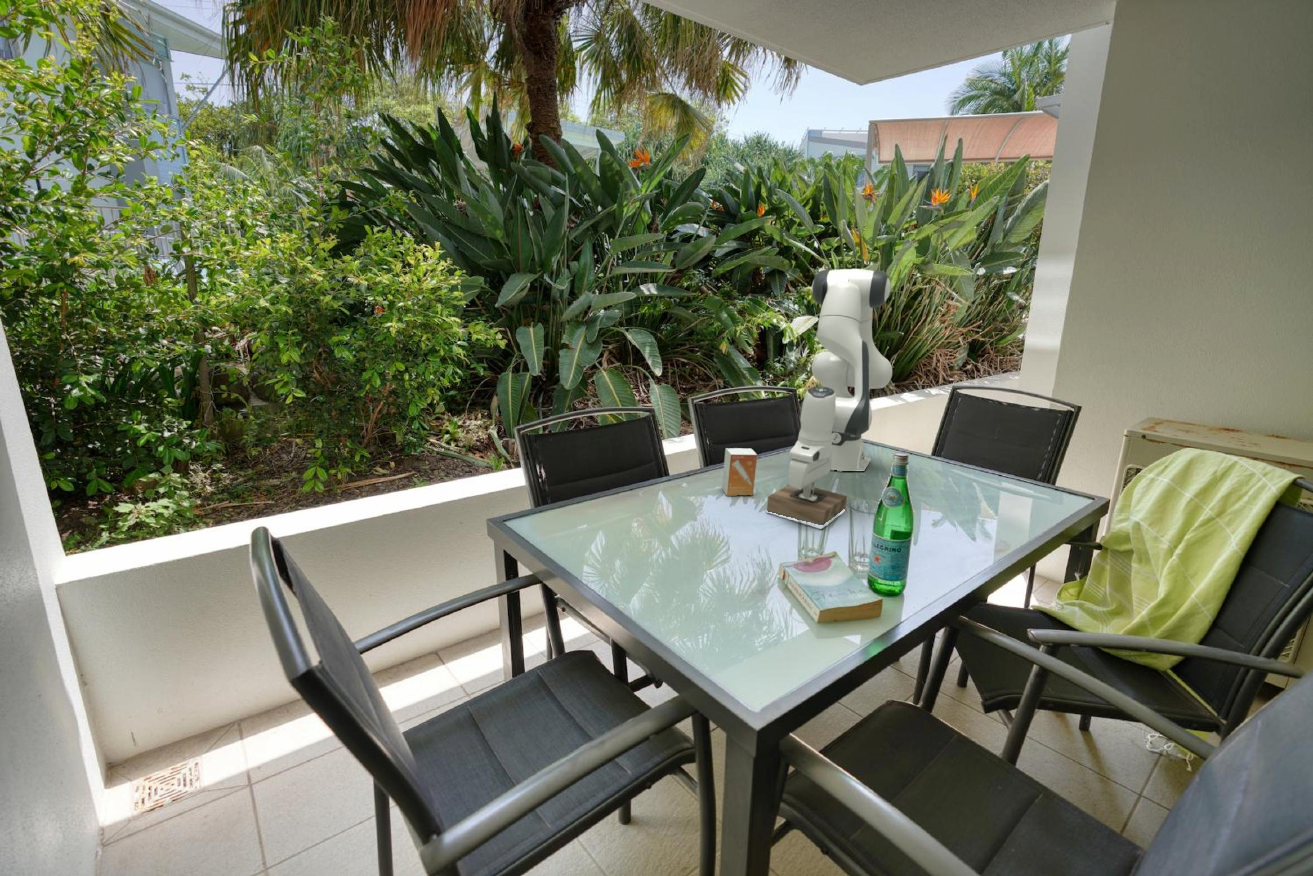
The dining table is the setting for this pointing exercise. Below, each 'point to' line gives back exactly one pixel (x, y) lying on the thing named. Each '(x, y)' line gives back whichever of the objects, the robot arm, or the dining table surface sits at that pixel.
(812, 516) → the socket block
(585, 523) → the dining table surface
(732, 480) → the small box
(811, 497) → the peg
